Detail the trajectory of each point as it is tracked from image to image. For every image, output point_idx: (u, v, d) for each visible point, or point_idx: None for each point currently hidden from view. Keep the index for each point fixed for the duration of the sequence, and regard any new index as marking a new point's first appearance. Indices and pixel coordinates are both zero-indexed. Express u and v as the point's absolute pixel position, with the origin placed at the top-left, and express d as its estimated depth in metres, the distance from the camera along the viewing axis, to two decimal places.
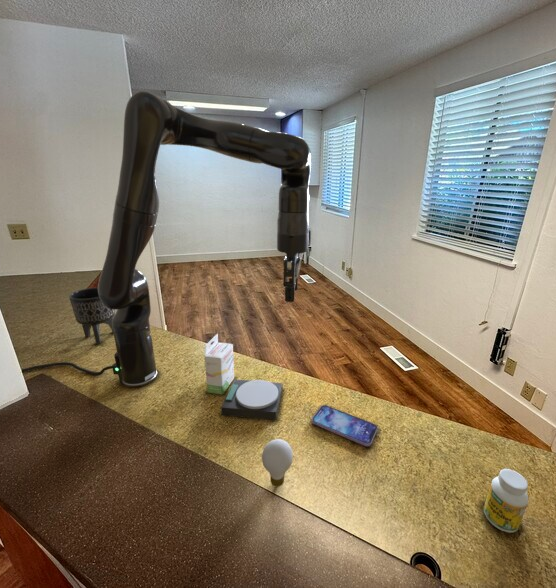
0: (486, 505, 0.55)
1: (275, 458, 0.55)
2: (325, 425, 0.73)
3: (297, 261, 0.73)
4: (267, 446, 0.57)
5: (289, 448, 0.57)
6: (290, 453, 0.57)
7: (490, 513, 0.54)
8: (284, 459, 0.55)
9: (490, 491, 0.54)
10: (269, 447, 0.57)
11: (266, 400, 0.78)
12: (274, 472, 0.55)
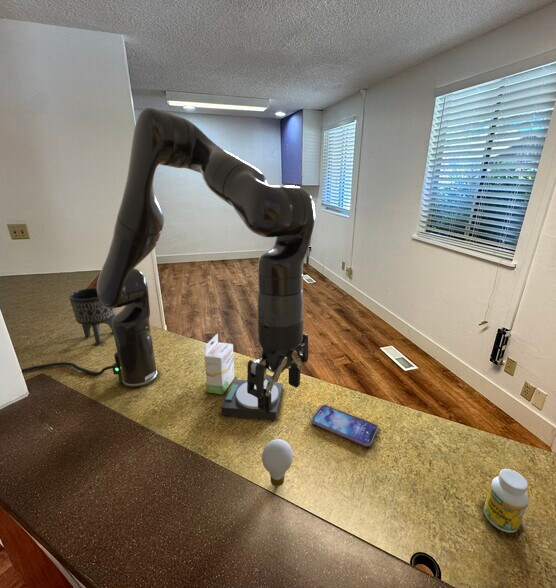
0: (486, 505, 0.55)
1: (275, 458, 0.55)
2: (325, 425, 0.73)
3: (280, 359, 0.50)
4: (267, 446, 0.57)
5: (289, 448, 0.57)
6: (290, 453, 0.57)
7: (490, 513, 0.54)
8: (284, 459, 0.55)
9: (490, 491, 0.54)
10: (269, 447, 0.57)
11: None
12: (274, 472, 0.55)
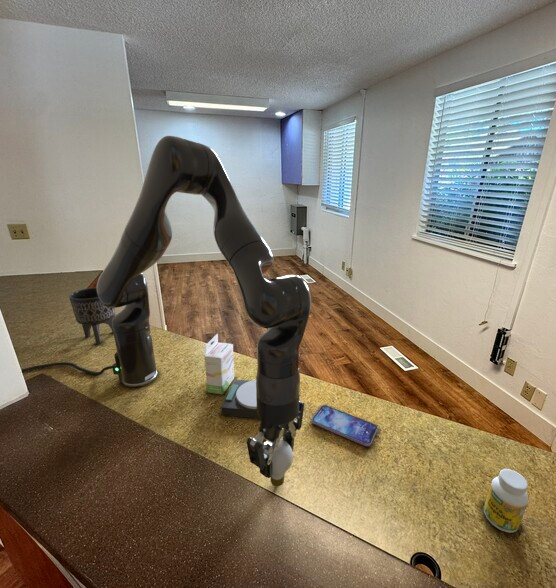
0: (486, 505, 0.55)
1: (275, 458, 0.55)
2: (325, 425, 0.73)
3: (277, 430, 0.53)
4: None
5: (289, 448, 0.57)
6: (290, 453, 0.57)
7: (490, 513, 0.54)
8: (284, 459, 0.55)
9: (490, 491, 0.54)
10: None
11: None
12: (274, 472, 0.55)
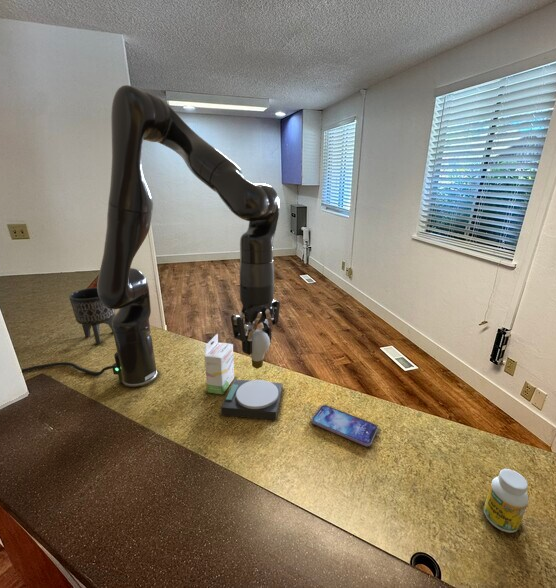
0: (486, 505, 0.55)
1: (255, 339, 0.69)
2: (325, 425, 0.73)
3: (256, 313, 0.67)
4: None
5: (267, 335, 0.71)
6: (267, 338, 0.71)
7: (490, 513, 0.54)
8: (262, 340, 0.69)
9: (490, 491, 0.54)
10: None
11: (266, 400, 0.78)
12: (254, 351, 0.69)
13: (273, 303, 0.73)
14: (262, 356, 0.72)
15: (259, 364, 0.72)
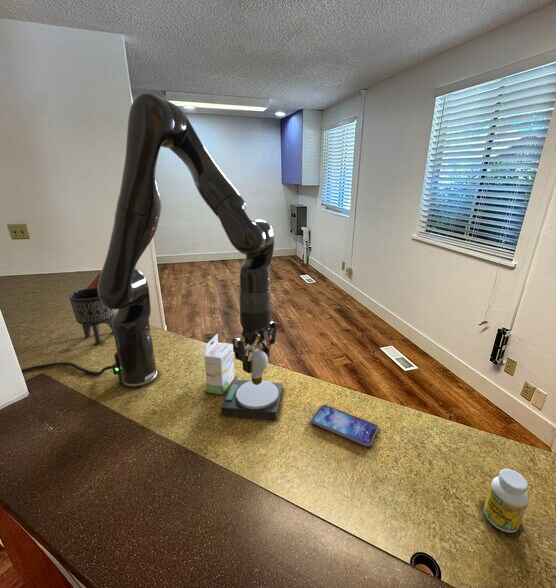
0: (486, 505, 0.55)
1: (254, 358, 0.75)
2: (325, 425, 0.73)
3: (255, 335, 0.73)
4: None
5: (265, 354, 0.78)
6: (265, 357, 0.77)
7: (490, 513, 0.54)
8: (261, 359, 0.76)
9: (490, 491, 0.54)
10: None
11: (266, 400, 0.78)
12: (253, 369, 0.76)
13: (270, 325, 0.79)
14: (261, 373, 0.78)
15: (258, 381, 0.79)
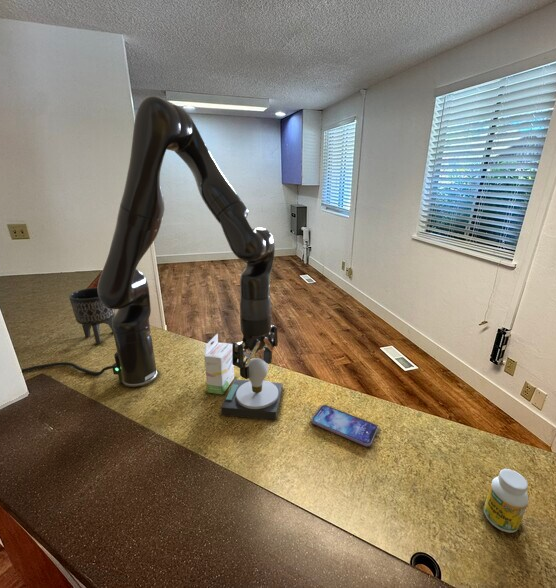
0: (486, 505, 0.55)
1: (254, 368, 0.76)
2: (325, 425, 0.73)
3: (255, 342, 0.74)
4: None
5: (265, 363, 0.78)
6: (265, 366, 0.78)
7: (490, 513, 0.54)
8: (261, 369, 0.76)
9: (490, 491, 0.54)
10: (250, 361, 0.78)
11: (266, 400, 0.78)
12: (253, 378, 0.77)
13: (271, 329, 0.79)
14: (261, 382, 0.79)
15: (258, 389, 0.80)
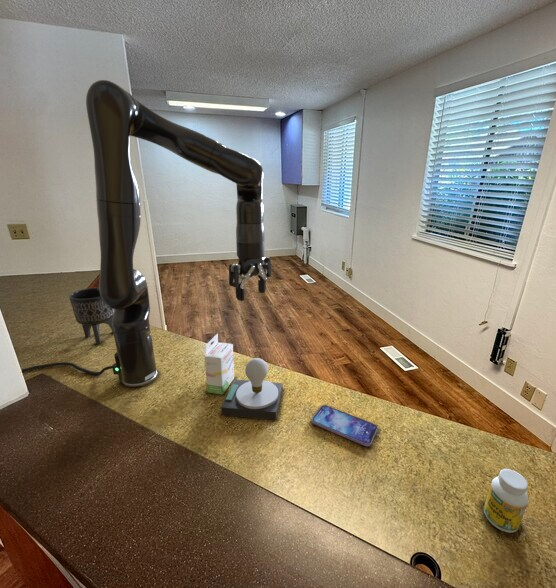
0: (486, 505, 0.55)
1: (254, 368, 0.76)
2: (325, 425, 0.73)
3: (250, 266, 0.82)
4: (249, 361, 0.78)
5: (265, 363, 0.78)
6: (265, 366, 0.78)
7: (490, 513, 0.54)
8: (261, 369, 0.76)
9: (490, 491, 0.54)
10: (250, 361, 0.78)
11: (266, 400, 0.78)
12: (253, 378, 0.77)
13: (264, 259, 0.87)
14: (261, 382, 0.79)
15: (258, 389, 0.80)
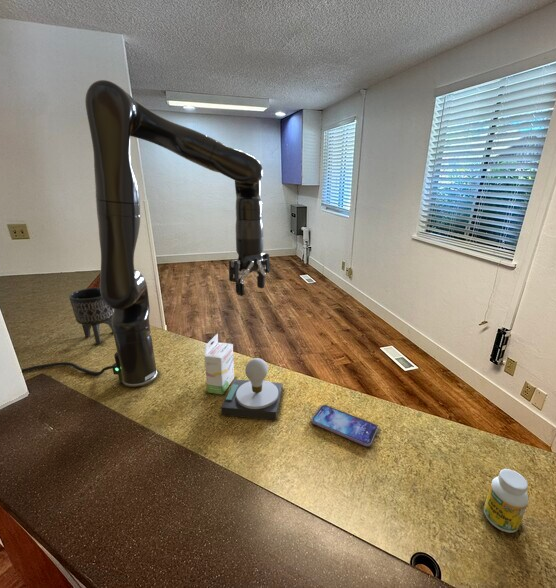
0: (486, 505, 0.55)
1: (254, 368, 0.76)
2: (325, 425, 0.73)
3: (249, 262, 0.84)
4: (249, 361, 0.78)
5: (265, 363, 0.78)
6: (265, 366, 0.78)
7: (490, 513, 0.54)
8: (261, 369, 0.76)
9: (490, 491, 0.54)
10: (250, 361, 0.78)
11: (266, 400, 0.78)
12: (253, 378, 0.77)
13: (263, 255, 0.90)
14: (261, 382, 0.79)
15: (258, 389, 0.80)
